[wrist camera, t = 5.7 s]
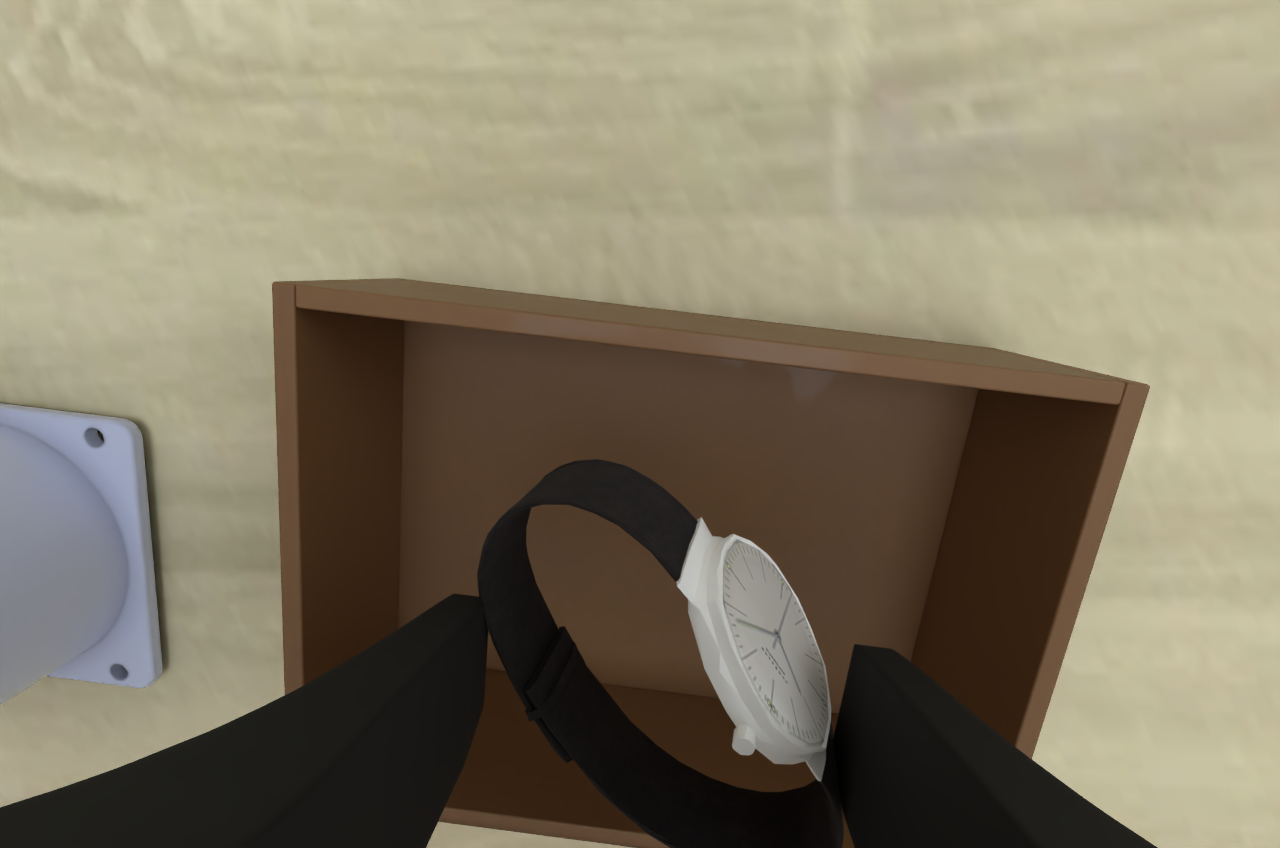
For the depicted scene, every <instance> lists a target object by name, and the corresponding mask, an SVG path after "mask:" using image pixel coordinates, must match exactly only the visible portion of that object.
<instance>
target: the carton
mask: <svg viewBox="0 0 1280 848" xmlns="http://www.w3.org/2000/svg"><path fill="white" fill-rule="evenodd" d="M272 295H273V328H274V360H275V392H276V424H277V456H278V489H279V521H280V553H281V585H282V617H283V650H284V682H285V695H287V694H289V693H290V692H292V691H294V690H296V689H298V688H300V687H302V686H304V685H305V684H307V683H309V682H311V681H312V680H314V679H316V678H318V677H319V676H321V675H323V674H325V673H326V672H328V671H330V670H332V669H333V668H335V667H337V666H338V665H340V664H342V663H344V662H345V661H347V660H349V659H351V658H352V657H354V656H356V655H358V654H359V653H361V652H363V651H364V650H366V649H368V648H369V647H371V646H372V645H374V644H375V643H377V642H379V641H380V640H382V639H383V638H385V637H386V636H388V635H390V634H391V633H393V632H394V631H396V630H397V629H399V628H401V627H402V626H404V625H405V624H407V623H408V622H410V621H411V620H413V619H414V618H416V617H417V616H419V615H420V614H422V613H423V612H425V611H426V610H428V609H430V608H431V607H433V606H434V605H436V604H437V603H439V602H440V601H442V600H443V599H445V598H447V597H448V596H450V595H452V594H462V595H470V596H478V597H479V592H478V580H477V572H478V567H479V562H480V557H481V552H482V547H483V544H484V542H485V539H486V537H487V534H488V533H489V532H490V530H491V529H492V528H493V526H494V525H495V524H496V522H497V521H498V520H499V519H500V517H501V516H502V515H503V514H505V513H506V512H507V511H508V510H509V509H510V508H511V507H513V506H514V505H515V504H516V503H517V502H518V501H520V500H521V499H522V498H523V497H524V496H525V495H526V494H527V493H528V492H529V491H530V490H531V489H532V488H533V487H535V486H536V485H537V484H538V483H539V482H540V481H541V480H542V479H543V477H544V476H545V475H547V474H548V473H550V472H552V471H553V470H555V469H556V468H558V467H559V466H561V465H564V464H567V463H570V462H573V461H578V460H593V459H600V460H605V461H611V462H614V463H618V464H622V465H625V466H628V467H630V468H632V469H634V470H636V471H637V472H639V473H641V474H643V475H645V476H646V477H648V478H650V479H651V480H653V481H654V482H656V483H657V484H659V485H660V486H661V487H663V488H664V489H665V490H667V491H668V492H669V493H670V494H671V495H672V496H673V497H674V498H675V499H677V500H678V501H679V502H680V503H681V504H682V505H683V506H684V507H685V508H686V509H687V510H688V511H689V512H690V513H691V514H692V516H693V517H694V518H695V519H696V520H698V519H699V518H701V517H702V519H703V521H704V522H705V524H706V526H707V528H708V529H709V531H710V533H711V535H712V536H716V537H722V538H726V537H727V536H729V535H731V534H735V535H737V536H740V537H742V538H745V539H747V540H750V541H752V542H753V543H754V544H755V545H757V546H758V547H759V548H761V549H762V550H763V551H764V552H766V553H767V554H768V555H769V556H770V558H771V559H772V560H773V561H774V562H775V564H776V565H777V566H778V568H779V569H780V571H781V572H782V574H783V575H784V577H785V579H786V580H787V582H788V583H789V585H790V587H791V588H792V590H793V591H794V593H795V594H796V596H797V598H798V599H799V602H800V604H801V606H802V608H803V611H804V613H805V615H806V617H807V620H808V622H809V624H810V626H811V629H812V631H813V634H814V637H815V639H816V642H817V645H818V648H819V650H820V653H821V656H822V659H823V661H824V664H825V667H826V674H827V681H828V688H829V696H830V703H831V725H832V728H833V734H834V733H835V728H836V724H837V719H838V715H839V710H840V706H841V701H842V697H843V692H844V688H845V683H846V679H847V674H848V670H849V665H850V661H851V656H852V652H853V647H854V644H859V645H867V646H875V647H883V648H891V649H893V650H895V651H896V652H898V653H899V654H901V655H902V656H903V657H905V658H906V659H907V660H909V661H910V662H911V663H913V664H914V665H915V666H916V667H918V668H919V669H920V670H921V671H923V672H924V673H925V674H926V675H928V676H929V677H930V678H931V679H932V680H934V681H935V682H936V683H937V684H939V685H940V686H941V687H942V688H943V689H945V690H946V691H947V692H948V693H949V694H951V695H952V696H953V697H954V698H955V699H957V700H958V701H959V702H960V703H962V704H963V705H964V706H965V707H966V708H968V709H969V710H970V711H971V712H973V713H974V714H975V715H976V716H977V717H979V718H980V719H981V720H982V721H984V722H985V723H986V724H987V725H989V726H990V727H991V728H992V729H993V730H995V731H996V732H997V733H998V734H1000V735H1001V736H1002V737H1004V738H1005V739H1006V740H1007V741H1009V742H1010V743H1011V744H1012V745H1014V746H1015V747H1016V748H1018V749H1019V750H1020V751H1021V752H1023V753H1024V754H1025V755H1027V756H1028V757H1029V758H1030V759H1032V756H1033V753H1034V750H1035V747H1036V744H1037V740H1038V737H1039V734H1040V731H1041V728H1042V725H1043V722H1044V718H1045V715H1046V712H1047V709H1048V706H1049V703H1050V700H1051V696H1052V693H1053V690H1054V687H1055V684H1056V681H1057V678H1058V674H1059V671H1060V668H1061V665H1062V662H1063V659H1064V656H1065V652H1066V649H1067V646H1068V643H1069V640H1070V637H1071V634H1072V630H1073V627H1074V624H1075V621H1076V618H1077V615H1078V612H1079V608H1080V605H1081V602H1082V599H1083V596H1084V593H1085V590H1086V586H1087V583H1088V580H1089V577H1090V574H1091V571H1092V568H1093V564H1094V561H1095V558H1096V555H1097V552H1098V549H1099V546H1100V542H1101V539H1102V536H1103V533H1104V530H1105V527H1106V524H1107V521H1108V517H1109V514H1110V511H1111V508H1112V505H1113V502H1114V499H1115V495H1116V492H1117V489H1118V486H1119V483H1120V480H1121V477H1122V473H1123V470H1124V467H1125V464H1126V461H1127V458H1128V455H1129V451H1130V448H1131V445H1132V442H1133V439H1134V436H1135V433H1136V429H1137V426H1138V423H1139V420H1140V417H1141V414H1142V411H1143V407H1144V404H1145V401H1146V398H1147V395H1148V392H1149V389H1150V386H1149V385H1147V384H1143V383H1139V382H1134V381H1130V380H1126V379H1122V378H1118V377H1113V376H1109V375H1105V374H1101V373H1096V372H1092V371H1088V370H1084V369H1080V368H1075V367H1071V366H1067V365H1063V364H1059V363H1054V362H1050V361H1046V360H1042V359H1037V358H1033V357H1029V356H1025V355H1021V354H1016V353H1012V352H1008V351H1003V350H999V349H995V348H986V347H977V346H969V345H960V344H952V343H943V342H935V341H926V340H918V339H909V338H901V337H892V336H884V335H875V334H867V333H858V332H850V331H841V330H833V329H824V328H816V327H807V326H799V325H790V324H782V323H773V322H764V321H756V320H747V319H739V318H730V317H722V316H713V315H705V314H696V313H688V312H679V311H671V310H662V309H654V308H645V307H637V306H628V305H620V304H611V303H603V302H594V301H586V300H577V299H569V298H560V297H551V296H543V295H534V294H526V293H517V292H509V291H500V290H492V289H483V288H475V287H466V286H458V285H449V284H441V283H432V282H424V281H415V280H407V279H398V278H396V279H359V280H321V281H284V282H273V284H272ZM526 546H527V552H528V557H529V560H530V564H531V567H532V570H533V574H534V577H535V580H536V584H537V586H538V588H539V590H540V592H541V594H542V596H543V598H544V600H545V602H546V604H547V606H548V608H549V610H550V613H551V615H552V617H553V619H554V621H555V623H556V625H557V627H558V629H559V627H563V626H565V628H566V629H567V631H568V633H569V635H570V636H571V638H572V640H573V642H575V643H576V646H577V648H578V650H579V652H580V654H581V655H582V657H583V659H584V661H585V664H586V666H587V667H588V668H589V669H590V671H591V672H592V673H593V674H594V676H595V677H596V678H597V679H598V681H599V682H600V683H601V684H602V686H603V687H604V688H605V689H606V691H607V692H608V693H609V695H610V696H611V697H612V698H613V700H614V701H615V702H616V703H617V705H618V706H619V707H620V708H621V710H622V711H623V712H624V713H625V715H626V716H627V717H628V719H629V720H630V721H631V722H632V723H633V724H634V725H636V726H637V727H638V728H639V729H640V730H641V731H642V732H643V733H644V734H645V735H646V736H648V737H649V738H650V739H651V740H652V741H653V742H654V743H655V744H656V745H658V746H659V747H660V748H662V749H663V750H664V751H666V752H667V753H669V754H670V755H671V756H673V757H674V758H676V759H677V760H678V761H680V762H681V763H683V764H685V765H687V766H689V767H691V768H693V769H695V770H697V771H699V772H700V773H702V774H704V775H706V776H708V777H710V778H713V779H716V780H719V781H721V782H724V783H727V784H730V785H733V786H735V787H739V788H744V789H750V790H755V791H761V792H783V791H787V790H792V789H796V788H800V787H804V786H806V785H808V784H810V783H811V782H813V781H815V780H816V778H815V776H814V774H813V773H812V771H811V770H810V768H809V767H808V765H807V764H806V762H801V763H797V764H793V765H792V764H774V763H773V762H772V761H770V760H769V759H768V758H767V757H765V756H764V755H763V754H762V753H761V752H759V751H758V750H757V749H756V748H755V750H754V752H753V754H751V755H748V756H747V755H740V754H739V753H738V752H736V751H735V750H734V749H733V747H732V742H733V734H734V729H735V728H736V726H735V724H734V723H733V721H732V720H731V718H730V717H729V715H728V714H727V712H726V711H725V709H724V707H723V705H722V703H721V701H720V699H719V697H718V695H717V693H716V691H715V689H714V687H713V685H712V683H711V681H710V679H709V677H708V675H707V673H706V671H705V669H704V665H703V662H702V659H701V655H700V652H699V648H698V645H697V641H696V638H695V634H694V631H693V628H692V624H691V621H690V617H689V614H688V598H687V597H686V596H685V595H684V594H683V593H682V591H681V590H680V589H679V588H678V587H677V583H676V582H675V581H674V579H673V578H672V577H671V576H670V575H669V573H668V572H667V571H666V570H665V569H664V567H663V566H662V565H661V564H660V563H659V561H658V560H657V559H656V558H655V557H654V555H653V554H652V553H651V552H650V551H649V550H648V549H647V548H645V547H644V546H643V545H642V544H640V543H639V542H638V541H637V540H635V539H634V538H633V537H632V536H630V535H629V534H628V533H627V532H625V531H624V530H623V529H622V528H621V527H619V526H618V525H616V524H614V523H612V522H610V521H608V520H606V519H604V518H602V517H600V516H598V515H596V514H595V513H592V512H589V511H586V510H583V509H580V508H577V507H574V506H570V505H539V506H536V507H532V508H531V511H530V515H529V519H528V523H527V527H526ZM525 709H526V708H525V706H524V704H523V703H522V701H521V699H520V697H519V696H518V694H517V692H516V691H515V689H514V687H513V685H512V683H511V681H510V679H509V677H508V674H507V672H506V670H505V668H504V666H503V664H502V662H501V659H500V657H499V655H498V653H497V651H496V649H495V647H494V645H493V642H492V639H491V636H490V633H489V630H488V645H487V662H486V679H485V696H484V707H483V710H482V713H481V716H480V719H479V722H478V725H477V728H476V731H475V735H474V738H473V741H472V743H471V746H470V749H469V752H468V755H467V758H466V761H465V764H464V766H463V769H462V771H461V773H460V775H459V777H458V780H457V782H456V784H455V786H454V788H453V790H452V793H451V795H450V797H449V799H448V801H447V803H446V806H445V808H444V810H443V812H442V814H441V816H440V818H439V821H438V822H445V823H453V824H461V825H468V826H476V827H483V828H491V829H499V830H506V831H514V832H521V833H529V834H536V835H544V836H552V837H559V838H567V839H574V840H582V841H589V842H597V843H605V844H612V845H620V846H627V847H635V848H669V847H668V846H666V845H664V844H663V843H661V842H660V841H658V840H656V839H655V838H653V837H651V836H650V835H649V834H647V833H646V832H645V831H644V830H642V829H641V828H640V827H639V826H637V825H636V824H635V823H634V822H633V821H631V820H630V819H629V818H628V817H627V816H625V815H624V814H623V813H622V812H620V811H619V810H618V809H617V808H616V807H615V806H614V805H613V804H612V803H611V802H610V801H608V800H607V799H606V798H605V797H604V796H603V795H602V794H601V793H600V792H599V791H598V789H597V788H596V787H595V786H594V785H593V783H592V782H591V781H590V780H589V778H588V777H587V776H586V775H585V773H584V772H583V771H582V770H581V769H580V767H579V766H578V765H577V764H576V762H575V761H574V760H572V761H570V762H568V763H566V762H565V761H564V760H563V759H562V758H561V757H560V756H559V755H558V754H557V753H556V752H555V750H554V749H553V748H552V746H551V745H550V743H549V742H548V741H547V739H546V738H545V736H544V735H543V733H542V732H541V730H540V729H539V728H538V726H537V725H536V723H535V722H534V720H533V721H530V722H529V720H528V717H527V715H526V712H525ZM842 813H843V809H842ZM843 827H844V839H843V845H842V848H854V845H853V842H852V839H851V836H850V832H849V829H848V826H847V823H846V820H845V817H844V813H843Z"/></svg>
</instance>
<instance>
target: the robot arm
mask: <svg viewBox="0 0 1280 848" xmlns="http://www.w3.org/2000/svg"><path fill="white" fill-rule="evenodd" d="M98 430H99V431H100V432H101V433H102V434H103V437H104V442H103V441H102V440H101V439H100V438H99V435H98ZM484 605H485V603H480V600H479V597H478V596H470V595H462V594H452V595H450V596H448V597H447V598H445V599H443V600H442V601H440V602H439V603H437V604H436V605H434V606H433V607H431V608H430V609H428V610H426V611H425V612H423V613H422V614H420V615H419V616H417V617H416V618H414V619H413V620H411V621H410V622H408V623H407V624H405V625H404V626H402V627H401V628H399V629H397V630H396V631H394V632H393V633H391V634H390V635H388V636H386V637H385V638H383V639H382V640H380V641H379V642H377V643H375V644H374V645H372V646H371V647H369V648H368V649H366V650H364V651H363V652H361V653H359V654H358V655H356V656H354V657H352V658H351V659H349V660H347V661H345V662H344V663H342V664H340V665H338V666H337V667H335V668H333V669H332V670H330V671H328V672H326V673H325V674H323V675H321V676H319V677H318V678H316V679H314V680H312V681H311V682H309V683H307V684H305V685H304V686H302V687H300V688H298V689H296V690H294V691H292V692H290V693H289V694H287V695H285V696H283V697H281V698H279V699H277V700H275V701H273V702H271V703H269V704H267V705H265V706H263V707H261V708H259V709H256V710H254V711H252V712H250V713H248V714H246V715H244V716H242V717H239V718H237V719H235V720H233V721H231V722H229V723H227V724H225V725H222V726H220V727H218V728H216V729H213V730H211V731H209V732H206V733H204V734H202V735H199V736H197V737H194V738H192V739H189V740H187V741H184V742H182V743H179V744H177V745H174V746H172V747H169V748H167V749H164V750H162V751H159V752H157V753H154V754H152V755H149V756H147V757H144V758H142V759H139V760H137V761H134V762H132V763H129V764H127V765H124V766H122V767H119V768H116V769H114V770H111V771H108V772H105V773H103V774H100V775H97V776H94V777H91V778H88V779H85V780H82V781H80V782H77V783H74V784H71V785H68V786H65V787H62V788H59V789H57V790H54V791H50V792H47V793H44V794H41V795H38V796H35V797H32V798H29V799H26V800H22V801H19V802H16V803H13V804H10V805H7V806H4V807H1V808H0V848H426V846H427V844H428V842H429V840H430V838H431V835H432V833H433V831H434V829H435V827H436V825H437V823H438V821H439V818H440V816H441V814H442V812H443V810H444V808H445V806H446V803H447V801H448V799H449V797H450V795H451V793H452V790H453V788H454V786H455V784H456V782H457V780H458V777H459V775H460V773H461V771H462V769H463V766H464V764H465V761H466V758H467V755H468V752H469V749H470V746H471V743H472V741H473V738H474V735H475V731H476V728H477V725H478V722H479V719H480V716H481V713H482V710H483V707H484V696H485V679H486V662H487V645H488V627H487V624H486V621H485V618H484ZM123 666H124V667H125V668H126V669H127V670H126V669H125V668H124V667H123ZM162 670H163V667H162V655H161V644H160V632H159V620H158V609H157V597H156V585H155V574H154V562H153V550H152V539H151V527H150V515H149V504H148V492H147V480H146V469H145V457H144V445H143V437H142V434H141V431H140V430H139V428H138V427H137V425H135V424H134V423H133V422H131V421H130V420H127V419H124V418H117V417H109V416H101V415H93V414H84V413H76V412H68V411H60V410H52V409H43V408H35V407H27V406H19V405H11V404H2V403H0V706H1V705H2V704H4V703H6V702H7V701H9V700H10V699H12V698H13V697H15V696H16V695H18V694H19V693H21V692H22V691H24V690H26V689H27V688H29V687H30V686H32V685H33V684H35V683H36V682H38V681H39V680H41V679H42V678H44V677H46V676H49V677H57V678H65V679H72V680H80V681H88V682H96V683H103V684H111V685H119V686H126V687H134V688H146V687H148V686H150V685H151V684H153V683H154V682H155V681H156V680H158V679H159V678H160V676H161V675H162ZM833 746H834V751H835V758H836V765H837V772H838V781H839V789H840V797H841V804H842V809H843V813H844V817H845V820H846V823H847V826H848V829H849V832H850V836H851V839H852V842H853V845H854V848H1157V847H1156V846H1154V845H1153V844H1151V843H1150V842H1148V841H1147V840H1145V839H1144V838H1142V837H1141V836H1139V835H1138V834H1136V833H1135V832H1133V831H1131V830H1130V829H1128V828H1127V827H1125V826H1124V825H1122V824H1121V823H1119V822H1118V821H1116V820H1115V819H1113V818H1112V817H1110V816H1109V815H1107V814H1106V813H1104V812H1103V811H1102V810H1100V809H1099V808H1097V807H1096V806H1094V805H1093V804H1092V803H1090V802H1089V801H1087V800H1086V799H1084V798H1083V797H1082V796H1080V795H1079V794H1077V793H1076V792H1075V791H1073V790H1072V789H1071V788H1069V787H1068V786H1067V785H1065V784H1064V783H1063V782H1061V781H1060V780H1059V779H1057V778H1056V777H1055V776H1053V775H1052V774H1050V773H1049V772H1048V771H1046V770H1045V769H1044V768H1042V767H1041V766H1040V765H1038V764H1037V763H1036V762H1034V761H1033V760H1032V759H1030V758H1029V757H1028V756H1027V755H1025V754H1024V753H1023V752H1021V751H1020V750H1019V749H1018V748H1016V747H1015V746H1014V745H1012V744H1011V743H1010V742H1009V741H1007V740H1006V739H1005V738H1004V737H1002V736H1001V735H1000V734H998V733H997V732H996V731H995V730H993V729H992V728H991V727H990V726H989V725H987V724H986V723H985V722H984V721H982V720H981V719H980V718H979V717H977V716H976V715H975V714H974V713H973V712H971V711H970V710H969V709H968V708H966V707H965V706H964V705H963V704H962V703H960V702H959V701H958V700H957V699H955V698H954V697H953V696H952V695H951V694H949V693H948V692H947V691H946V690H945V689H943V688H942V687H941V686H940V685H939V684H937V683H936V682H935V681H934V680H932V679H931V678H930V677H929V676H928V675H926V674H925V673H924V672H923V671H921V670H920V669H919V668H918V667H916V666H915V665H914V664H913V663H911V662H910V661H909V660H907V659H906V658H905V657H903V656H902V655H901V654H899V653H898V652H896V651H895V650H893V649H891V648H883V647H875V646H867V645H859V644H854V647H853V652H852V656H851V661H850V665H849V670H848V674H847V679H846V683H845V688H844V692H843V697H842V701H841V706H840V710H839V715H838V719H837V724H836V728H835V733H834V737H833Z"/></svg>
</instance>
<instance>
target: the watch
mask: <svg viewBox="0 0 1280 848" xmlns="http://www.w3.org/2000/svg"><path fill="white" fill-rule="evenodd" d="M539 505H570V506H574V507H577V508H580V509H583V510H586V511H589V512H592V513H595V514H596V515H598V516H600V517H602V518H604V519H606V520H608V521H610V522H612V523H614V524H616V525H618V526H619V527H621V528H622V529H623V530H624V531H625V532H627V533H628V534H629V535H630V536H632V537H633V538H634V539H635V540H637V541H638V542H639V543H640V544H642V545H643V546H644V547H645V548H647V549H648V550H649V551H650V552H651V553H652V554H653V555H654V557H655V558H656V559H657V560H658V561H659V563H660V564H661V565H662V566H663V567H664V569H665V570H666V571H667V572H668V573H669V575H670V576H671V577H672V578H673V579H674V581H675V582H676V583H677V587H678V588H679V589H680V590H681V591H682V593H683V594H684V595H685V596H686V597H687V598H688V614H689V617H690V621H691V624H692V628H693V631H694V634H695V638H696V641H697V645H698V648H699V652H700V655H701V659H702V662H703V665H704V669H705V671H706V673H707V675H708V677H709V679H710V681H711V683H712V685H713V687H714V689H715V691H716V693H717V695H718V697H719V699H720V701H721V703H722V705H723V707H724V709H725V711H726V712H727V714H728V715H729V717H730V718H731V720H732V721H733V723H734V724H735V726H736V728H735V729H734V734H733V742H732V747H733V749H734V750H735V751H736V752H738V753H739V754H740V755H747V756H748V755H751V754H753V752H754V750H755V748H756V749H757V750H758V751H759V752H761V753H762V754H763V755H764V756H765V757H767V758H768V759H769V760H770V761H772V762H773V763H774V764H792V765H793V764H797V763H801V762H806V764H807V765H808V767H809V768H810V770H811V771H812V773H813V774H814V776H815V778H816V780H815V781H813V782H811V783H810V784H808V785H806V786H804V787H800V788H796V789H792V790H787V791H783V792H761V791H755V790H750V789H744V788H739V787H735V786H733V785H730V784H727V783H724V782H721V781H719V780H716V779H713V778H710V777H708V776H706V775H704V774H702V773H700V772H699V771H697V770H695V769H693V768H691V767H689V766H687V765H685V764H683V763H681V762H680V761H678V760H677V759H676V758H674V757H673V756H671V755H670V754H669V753H667V752H666V751H664V750H663V749H662V748H660V747H659V746H658V745H656V744H655V743H654V742H653V741H652V740H651V739H650V738H649V737H648V736H646V735H645V734H644V733H643V732H642V731H641V730H640V729H639V728H638V727H637V726H636V725H634V724H633V723H632V722H631V721H630V720H629V719H628V717H627V716H626V715H625V713H624V712H623V711H622V710H621V708H620V707H619V706H618V705H617V703H616V702H615V701H614V700H613V698H612V697H611V696H610V695H609V693H608V692H607V691H606V689H605V688H604V687H603V686H602V684H601V683H600V682H599V681H598V679H597V678H596V677H595V676H594V674H593V673H592V672H591V671H590V669H589V668H588V667H587V666H586V664H585V661H584V659H583V657H582V655H581V654H580V652H579V650H578V648H577V646H576V643H575V642H573V640H572V638H571V636H570V635H569V633H568V631H567V629H566V628H565V626H563V627H559V629H558V627H557V625H556V623H555V621H554V619H553V617H552V615H551V613H550V610H549V608H548V606H547V604H546V602H545V600H544V598H543V596H542V594H541V592H540V590H539V588H538V586H537V584H536V580H535V577H534V574H533V570H532V567H531V564H530V560H529V557H528V552H527V546H526V527H527V523H528V519H529V515H530V511H531V508H532V507H536V506H539ZM477 580H478V592H479V600H480V603H485V605H484V618H485V621H486V624H487V627H488V630H489V633H490V636H491V639H492V642H493V645H494V647H495V649H496V651H497V653H498V655H499V657H500V659H501V662H502V664H503V666H504V668H505V670H506V672H507V674H508V677H509V679H510V681H511V683H512V685H513V687H514V689H515V691H516V692H517V694H518V696H519V697H520V699H521V701H522V703H523V704H524V706H525V708H526V709H525V712H526V715H527V717H528V720H529V722H530V721H533V720H534V722H535V723H536V725H537V726H538V728H539V729H540V730H541V732H542V733H543V735H544V736H545V738H546V739H547V741H548V742H549V743H550V745H551V746H552V748H553V749H554V750H555V752H556V753H557V754H558V755H559V756H560V757H561V758H562V759H563V760H564V761H565V762H566V763H568V762H570V761H572V760H574V761H575V762H576V764H577V765H578V766H579V767H580V769H581V770H582V771H583V772H584V773H585V775H586V776H587V777H588V778H589V780H590V781H591V782H592V783H593V785H594V786H595V787H596V788H597V789H598V791H599V792H600V793H601V794H602V795H603V796H604V797H605V798H606V799H607V800H608V801H610V802H611V803H612V804H613V805H614V806H615V807H616V808H617V809H618V810H619V811H620V812H622V813H623V814H624V815H625V816H627V817H628V818H629V819H630V820H631V821H633V822H634V823H635V824H636V825H637V826H639V827H640V828H641V829H642V830H644V831H645V832H646V833H647V834H649V835H650V836H651V837H653V838H655V839H656V840H658V841H660V842H661V843H663V844H664V845H666V846H668V847H669V848H842V845H843V839H844V827H843V813H842V804H841V797H840V789H839V781H838V772H837V765H836V758H835V751H834V746H833V737H834V734H833V728H832V725H831V703H830V696H829V688H828V681H827V674H826V667H825V664H824V661H823V659H822V656H821V653H820V650H819V648H818V645H817V642H816V639H815V637H814V634H813V631H812V629H811V626H810V624H809V622H808V620H807V617H806V615H805V613H804V611H803V608H802V606H801V604H800V602H799V599H798V598H797V596H796V594H795V593H794V591H793V590H792V588H791V587H790V585H789V583H788V582H787V580H786V579H785V577H784V575H783V574H782V572H781V571H780V569H779V568H778V566H777V565H776V564H775V562H774V561H773V560H772V559H771V558H770V556H769V555H768V554H767V553H766V552H764V551H763V550H762V549H761V548H759V547H758V546H757V545H755V544H754V543H753V542H752V541H750V540H747V539H745V538H742V537H740V536H737V535H735V534H731V535H729V536H727V537H726V538H722V537H716V536H712V535H711V533H710V531H709V529H708V528H707V526H706V524H705V522H704V521H703V519H702V517H701V518H699V519H698V520H696V519H695V518H694V517H693V516H692V514H691V513H690V512H689V511H688V510H687V509H686V508H685V507H684V506H683V505H682V504H681V503H680V502H679V501H678V500H677V499H675V498H674V497H673V496H672V495H671V494H670V493H669V492H668V491H667V490H665V489H664V488H663V487H661V486H660V485H659V484H657V483H656V482H654V481H653V480H651V479H650V478H648V477H646V476H645V475H643V474H641V473H639V472H637V471H636V470H634V469H632V468H630V467H628V466H625V465H622V464H618V463H614V462H611V461H605V460H600V459H593V460H578V461H573V462H570V463H567V464H564V465H561V466H559V467H558V468H556V469H555V470H553V471H552V472H550V473H548V474H547V475H545V476H544V477H543V479H542V480H541V481H540V482H539V483H538V484H537V485H536V486H535V487H533V488H532V489H531V490H530V491H529V492H528V493H527V494H526V495H525V496H524V497H523V498H522V499H521V500H520V501H518V502H517V503H516V504H515V505H514V506H513V507H511V508H510V509H509V510H508V511H507V512H506V513H505V514H503V515H502V516H501V517H500V519H499V520H498V521H497V522H496V524H495V525H494V526H493V528H492V529H491V530H490V532H489V533H488V534H487V537H486V539H485V542H484V544H483V547H482V552H481V557H480V562H479V567H478V572H477Z"/></svg>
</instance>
